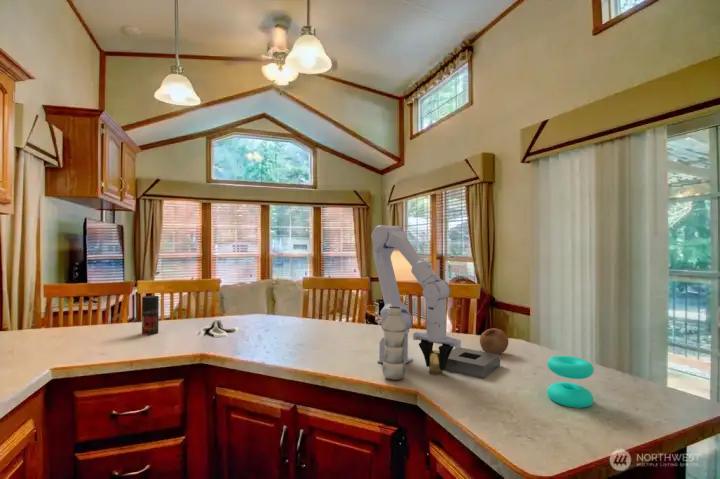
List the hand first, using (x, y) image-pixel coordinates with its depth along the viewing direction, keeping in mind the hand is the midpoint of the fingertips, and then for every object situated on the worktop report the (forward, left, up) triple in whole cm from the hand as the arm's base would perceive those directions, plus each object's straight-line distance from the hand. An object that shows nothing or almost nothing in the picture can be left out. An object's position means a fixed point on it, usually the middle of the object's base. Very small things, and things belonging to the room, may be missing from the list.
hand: (435, 367), depth 115 cm
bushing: (0, 0, -1) cm, 1 cm away
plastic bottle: (-12, +7, -2) cm, 14 cm away
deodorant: (-31, +113, -2) cm, 117 cm away
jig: (+11, -6, -1) cm, 13 cm away
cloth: (-14, +94, -2) cm, 95 cm away
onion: (+30, -7, -2) cm, 31 cm away
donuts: (+2, -35, -2) cm, 35 cm away
